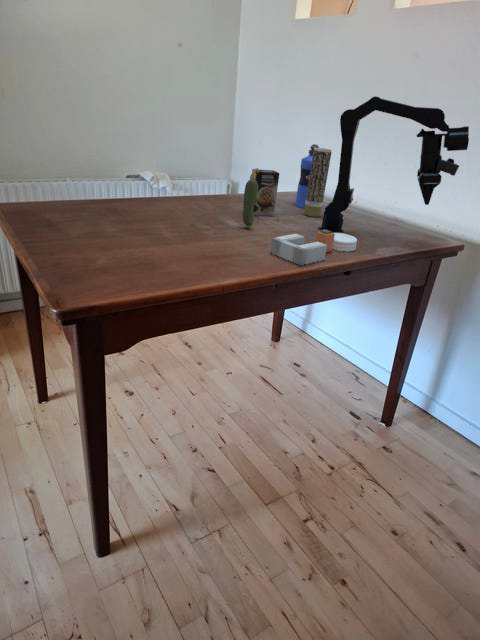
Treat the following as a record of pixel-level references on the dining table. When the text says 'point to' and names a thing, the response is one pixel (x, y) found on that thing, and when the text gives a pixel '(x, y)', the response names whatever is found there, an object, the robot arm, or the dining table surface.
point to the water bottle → (304, 178)
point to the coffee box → (266, 192)
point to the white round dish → (344, 242)
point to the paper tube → (317, 181)
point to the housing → (298, 249)
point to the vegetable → (250, 199)
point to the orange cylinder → (325, 238)
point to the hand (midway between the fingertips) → (426, 202)
